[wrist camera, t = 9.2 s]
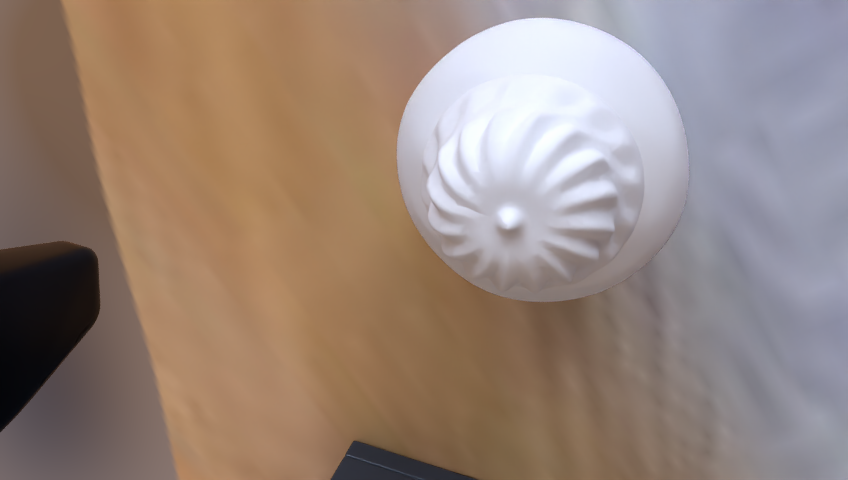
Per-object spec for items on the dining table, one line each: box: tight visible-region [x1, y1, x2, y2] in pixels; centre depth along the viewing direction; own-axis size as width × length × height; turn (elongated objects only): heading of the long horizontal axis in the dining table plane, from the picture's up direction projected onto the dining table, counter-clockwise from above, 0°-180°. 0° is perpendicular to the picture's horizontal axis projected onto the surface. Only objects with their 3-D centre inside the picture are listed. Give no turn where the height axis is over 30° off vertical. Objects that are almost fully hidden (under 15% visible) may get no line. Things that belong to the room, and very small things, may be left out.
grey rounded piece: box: [397, 18, 689, 302], centre depth 16 cm, size 6×6×7 cm
